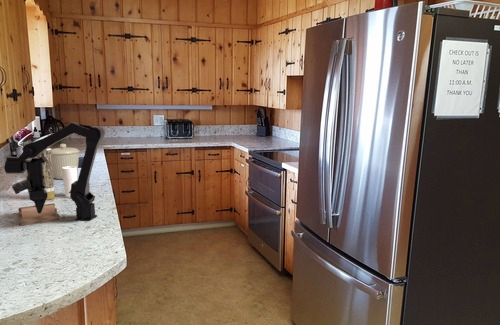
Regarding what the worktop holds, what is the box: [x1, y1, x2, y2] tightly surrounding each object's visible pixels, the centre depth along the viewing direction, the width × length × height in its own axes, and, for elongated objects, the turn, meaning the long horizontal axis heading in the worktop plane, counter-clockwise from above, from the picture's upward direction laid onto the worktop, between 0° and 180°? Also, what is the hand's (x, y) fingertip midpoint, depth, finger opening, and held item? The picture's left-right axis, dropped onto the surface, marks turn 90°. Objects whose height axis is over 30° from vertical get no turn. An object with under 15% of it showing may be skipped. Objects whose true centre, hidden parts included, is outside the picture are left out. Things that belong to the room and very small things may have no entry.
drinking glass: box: [62, 166, 78, 199], centre depth 194 cm, size 7×7×15 cm
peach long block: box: [21, 205, 56, 219], centre depth 159 cm, size 12×4×4 cm, turn 122°
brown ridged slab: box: [17, 203, 60, 227], centre depth 163 cm, size 14×18×2 cm
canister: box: [51, 143, 81, 180], centre depth 234 cm, size 18×18×21 cm
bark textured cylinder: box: [35, 147, 55, 201], centre depth 188 cm, size 7×7×25 cm
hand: (38, 210), depth 159 cm, fingers open, 9 cm apart
